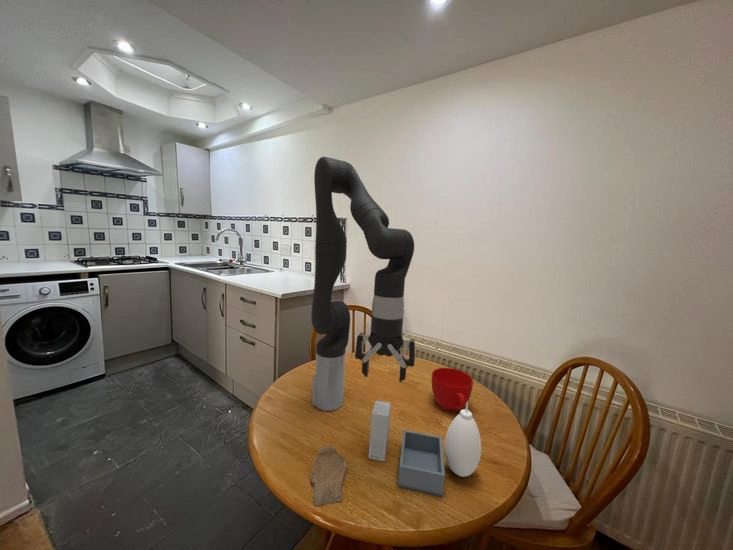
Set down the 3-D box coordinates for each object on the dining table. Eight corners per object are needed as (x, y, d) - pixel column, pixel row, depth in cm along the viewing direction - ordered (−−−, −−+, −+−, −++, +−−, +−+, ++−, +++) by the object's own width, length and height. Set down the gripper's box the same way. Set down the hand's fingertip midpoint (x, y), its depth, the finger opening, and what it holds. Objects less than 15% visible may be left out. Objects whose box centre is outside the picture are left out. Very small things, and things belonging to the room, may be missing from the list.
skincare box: (385, 462, 68) (388, 416, 66) (368, 459, 69) (370, 413, 67) (388, 444, 74) (391, 402, 72) (372, 441, 75) (375, 399, 73)
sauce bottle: (484, 477, 65) (493, 405, 63) (462, 492, 61) (471, 416, 58) (457, 455, 71) (464, 388, 69) (435, 467, 67) (442, 397, 65)
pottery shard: (307, 458, 70) (312, 510, 56) (307, 448, 70) (313, 497, 55) (340, 453, 72) (353, 502, 58) (340, 443, 72) (354, 490, 58)
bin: (398, 486, 61) (399, 466, 61) (402, 447, 73) (403, 429, 72) (442, 496, 59) (444, 475, 59) (439, 454, 71) (441, 436, 70)
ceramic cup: (438, 425, 83) (441, 393, 81) (425, 393, 99) (427, 366, 98) (482, 426, 83) (485, 395, 82) (461, 394, 100) (464, 368, 98)
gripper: (354, 314, 64) (351, 381, 66) (417, 321, 61) (412, 390, 64) (361, 307, 71) (358, 367, 74) (418, 312, 69) (413, 375, 71)
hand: (383, 378), depth 69 cm, fingers open, 8 cm apart
